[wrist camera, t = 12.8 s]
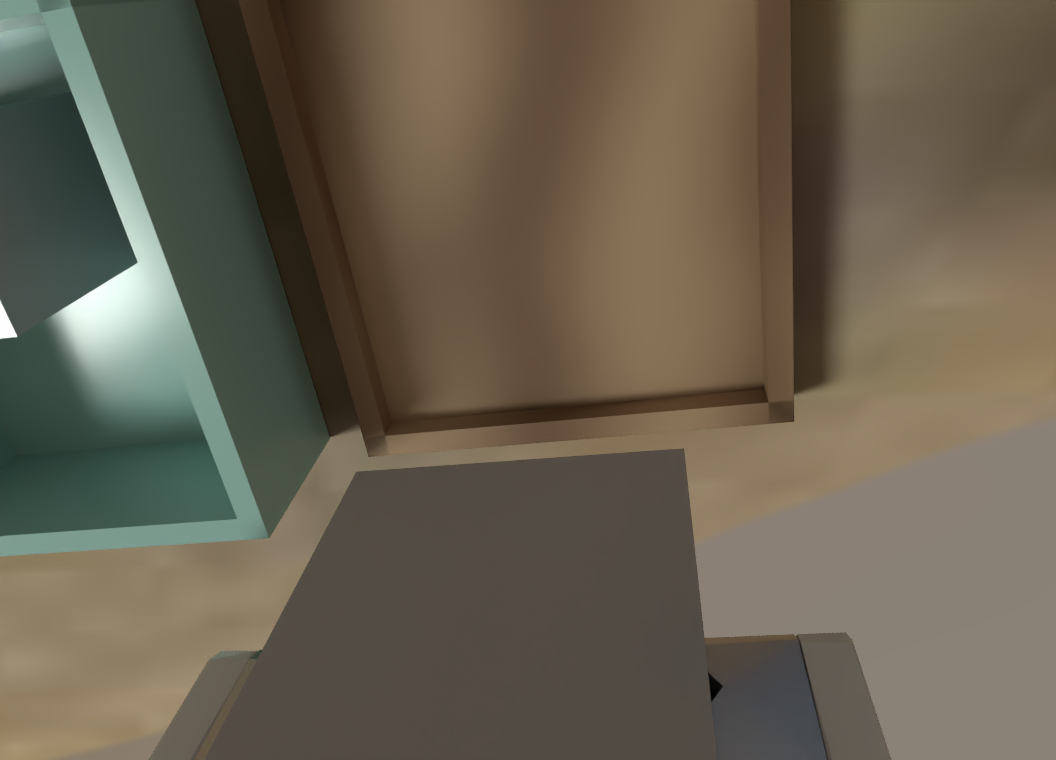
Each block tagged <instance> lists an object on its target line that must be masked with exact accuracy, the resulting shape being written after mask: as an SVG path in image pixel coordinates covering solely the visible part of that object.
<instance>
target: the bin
mask: <svg viewBox="0 0 1056 760" xmlns="http://www.w3.org/2000/svg"><path fill="white" fill-rule="evenodd" d="M67 92H72V94H73V97H74V99H75V102H76V105H77V107H78V110H79V112H80V115H81V117H82V120H83V123H84V125H85V128H86V130H87V133H88V135H89V138H90V141H91V143H92V146H93V148H94V151H95V154H96V156H97V159H98V161H99V164H100V166H101V169H102V172H103V174H104V177H105V179H106V182H107V184H108V187H109V190H110V192H111V195H112V197H113V200H114V202H115V205H116V208H117V210H118V213H119V215H120V218H121V221H122V223H123V226H124V228H125V231H126V233H127V236H128V239H129V241H130V244H131V246H132V249H133V251H134V254H135V257H136V259H137V262H138V263H137V264H135V265H133V266H132V267H130V268H128V269H127V270H125V271H123V272H122V273H120V274H119V275H117V276H115V277H114V278H112V279H110V280H109V281H107V282H106V283H104V284H102V285H101V286H99V287H97V288H96V289H94V290H93V291H91V292H89V293H88V294H86V295H84V296H83V297H81V298H80V299H78V300H76V301H75V302H73V303H71V304H70V305H68V306H67V307H65V308H63V309H62V310H60V311H58V312H57V313H55V314H54V315H52V316H50V317H49V318H47V319H45V320H44V321H42V322H41V323H39V324H37V325H36V326H34V327H32V328H31V329H29V330H28V331H26V332H24V333H23V334H21V335H19V336H18V337H11V338H2V339H0V556H12V555H27V554H42V553H57V552H71V551H86V550H101V549H116V548H131V547H145V546H160V545H175V544H190V543H205V542H219V541H234V540H249V539H264V538H270V536H271V534H272V533H273V531H274V529H275V528H276V526H277V524H278V523H279V521H280V519H281V518H282V516H283V515H284V513H285V511H286V510H287V508H288V506H289V505H290V503H291V501H292V500H293V498H294V496H295V495H296V493H297V491H298V490H299V488H300V487H301V485H302V483H303V482H304V480H305V478H306V477H307V475H308V473H309V472H310V470H311V468H312V467H313V465H314V464H315V462H316V460H317V459H318V457H319V455H320V454H321V452H322V450H323V449H324V447H325V445H326V444H327V442H328V440H329V439H330V437H329V434H328V430H327V427H326V424H325V421H324V417H323V414H322V411H321V408H320V404H319V401H318V398H317V395H316V391H315V388H314V385H313V382H312V378H311V375H310V372H309V369H308V365H307V362H306V359H305V356H304V352H303V349H302V346H301V343H300V339H299V336H298V333H297V330H296V326H295V323H294V320H293V317H292V313H291V310H290V307H289V304H288V300H287V297H286V294H285V291H284V287H283V284H282V281H281V278H280V274H279V271H278V268H277V265H276V261H275V258H274V255H273V252H272V248H271V245H270V242H269V239H268V235H267V232H266V229H265V226H264V222H263V219H262V216H261V213H260V209H259V206H258V203H257V200H256V196H255V193H254V190H253V187H252V183H251V180H250V177H249V174H248V170H247V167H246V164H245V161H244V158H243V154H242V151H241V148H240V145H239V141H238V138H237V135H236V132H235V128H234V125H233V122H232V119H231V115H230V112H229V109H228V106H227V102H226V99H225V96H224V93H223V89H222V86H221V83H220V80H219V76H218V73H217V70H216V67H215V63H214V60H213V57H212V54H211V50H210V47H209V44H208V41H207V37H206V34H205V31H204V28H203V24H202V21H201V18H200V15H199V11H198V8H197V5H196V2H195V0H0V104H2V103H8V102H14V101H20V100H26V99H32V98H38V97H44V96H49V95H55V94H61V93H67Z"/></svg>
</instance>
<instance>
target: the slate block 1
mask: <svg viewBox="0 0 1056 760" xmlns="http://www.w3.org/2000/svg"><path fill="white" fill-rule="evenodd" d="M137 263H138V262H137V259H136V257H135V254H134V251H133V249H132V246H131V244H130V241H129V239H128V236H127V233H126V231H125V228H124V226H123V223H122V221H121V218H120V215H119V213H118V210H117V208H116V205H115V202H114V200H113V197H112V195H111V192H110V190H109V187H108V184H107V182H106V179H105V177H104V174H103V172H102V169H101V166H100V164H99V161H98V159H97V156H96V154H95V151H94V148H93V146H92V143H91V141H90V138H89V135H88V133H87V130H86V128H85V125H84V123H83V120H82V117H81V115H80V112H79V110H78V107H77V105H76V102H75V99H74V97H73V94H72V92H67V93H61V94H55V95H49V96H44V97H38V98H32V99H26V100H20V101H14V102H8V103H2V104H0V339H2V338H11V337H18V336H19V335H21V334H23V333H24V332H26V331H28V330H29V329H31V328H32V327H34V326H36V325H37V324H39V323H41V322H42V321H44V320H45V319H47V318H49V317H50V316H52V315H54V314H55V313H57V312H58V311H60V310H62V309H63V308H65V307H67V306H68V305H70V304H71V303H73V302H75V301H76V300H78V299H80V298H81V297H83V296H84V295H86V294H88V293H89V292H91V291H93V290H94V289H96V288H97V287H99V286H101V285H102V284H104V283H106V282H107V281H109V280H110V279H112V278H114V277H115V276H117V275H119V274H120V273H122V272H123V271H125V270H127V269H128V268H130V267H132V266H133V265H135V264H137Z"/></svg>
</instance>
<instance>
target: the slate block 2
mask: <svg viewBox="0 0 1056 760" xmlns="http://www.w3.org/2000/svg"><path fill="white" fill-rule="evenodd" d="M204 760H717V752H716V742H715V733H714V724H713V714H712V705H711V696H710V686H709V677H708V668H707V658H706V649H705V640H704V631H703V621H702V612H701V603H700V593H699V584H698V575H697V565H696V556H695V547H694V537H693V528H692V519H691V509H690V500H689V491H688V481H687V472H686V463H685V453H684V449H670V450H656V451H642V452H628V453H614V454H600V455H586V456H572V457H558V458H544V459H530V460H516V461H502V462H488V463H474V464H460V465H446V466H431V467H417V468H403V469H389V470H375V471H361V472H356V474H355V475H354V477H353V479H352V481H351V483H350V485H349V487H348V489H347V491H346V492H345V494H344V496H343V498H342V500H341V502H340V504H339V506H338V508H337V510H336V511H335V513H334V515H333V517H332V519H331V521H330V523H329V525H328V527H327V528H326V530H325V532H324V534H323V536H322V538H321V540H320V542H319V544H318V545H317V547H316V549H315V551H314V553H313V555H312V557H311V559H310V561H309V563H308V564H307V566H306V568H305V570H304V572H303V574H302V576H301V578H300V580H299V581H298V583H297V585H296V587H295V589H294V591H293V593H292V595H291V597H290V598H289V600H288V602H287V604H286V606H285V608H284V610H283V612H282V614H281V616H280V617H279V619H278V621H277V623H276V625H275V627H274V629H273V631H272V633H271V634H270V636H269V638H268V640H267V642H266V644H265V646H264V648H263V650H262V651H261V653H260V655H259V657H258V659H257V661H256V663H255V665H254V667H253V669H252V670H251V672H250V674H249V676H248V678H247V680H246V682H245V684H244V686H243V687H242V689H241V691H240V693H239V695H238V697H237V699H236V701H235V703H234V704H233V706H232V708H231V710H230V712H229V714H228V716H227V718H226V720H225V722H224V723H223V725H222V727H221V729H220V731H219V733H218V735H217V737H216V739H215V740H214V742H213V744H212V746H211V748H210V750H209V752H208V754H207V756H206V757H205V759H204Z"/></svg>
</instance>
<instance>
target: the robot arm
mask: <svg viewBox="0 0 1056 760" xmlns="http://www.w3.org/2000/svg"><path fill="white" fill-rule="evenodd" d="M704 640H705V649H706V658H707V668H708V677H709V686H710V696H711V705H712V714H713V724H714V733H715V742H716V752H717V760H891V757H890V754H889V751H888V748H887V745H886V742H885V739H884V736H883V733H882V729H881V726H880V723H879V720H878V717H877V714H876V712H875V708H874V705H873V702H872V699H871V696H870V693H869V690H868V686H867V684H866V680H865V677H864V675H863V671H862V668H861V665H860V662H859V659H858V656H857V653H856V650H855V647H854V644H853V641H852V639H851V638H850V637H849V636H848V635H847V633H846V632H845V633H819V634H797V636H795V635H793V634H792V635H767V636H743V637H717V638H704ZM261 651H262V650H259V651H220V652H219V653H218V654H216V655H215V656H214V657H212V658H211V659H209V661H208V662H207V664H206V665H205V667H204V669H203V670H202V672H201V674H200V675H199V677H198V679H197V680H196V682H195V683H194V685H193V687H192V688H191V690H190V692H189V693H188V695H187V697H186V698H185V700H184V702H183V703H182V705H181V707H180V708H179V710H178V712H177V713H176V715H175V717H174V718H173V720H172V722H171V723H170V725H169V727H168V728H167V730H166V732H165V733H164V735H163V737H162V738H161V740H160V742H159V743H158V745H157V747H156V748H155V750H154V751H153V753H152V755H151V756H150V758H149V760H204V759H205V757H206V756H207V754H208V752H209V750H210V748H211V746H212V744H213V742H214V740H215V739H216V737H217V735H218V733H219V731H220V729H221V727H222V725H223V723H224V722H225V720H226V718H227V716H228V714H229V712H230V710H231V708H232V706H233V704H234V703H235V701H236V699H237V697H238V695H239V693H240V691H241V689H242V687H243V686H244V684H245V682H246V680H247V678H248V676H249V674H250V672H251V670H252V669H253V667H254V665H255V663H256V661H257V659H258V657H259V655H260V653H261Z"/></svg>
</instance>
